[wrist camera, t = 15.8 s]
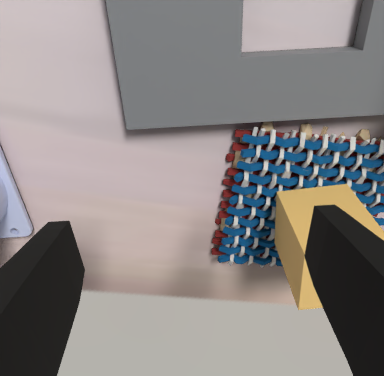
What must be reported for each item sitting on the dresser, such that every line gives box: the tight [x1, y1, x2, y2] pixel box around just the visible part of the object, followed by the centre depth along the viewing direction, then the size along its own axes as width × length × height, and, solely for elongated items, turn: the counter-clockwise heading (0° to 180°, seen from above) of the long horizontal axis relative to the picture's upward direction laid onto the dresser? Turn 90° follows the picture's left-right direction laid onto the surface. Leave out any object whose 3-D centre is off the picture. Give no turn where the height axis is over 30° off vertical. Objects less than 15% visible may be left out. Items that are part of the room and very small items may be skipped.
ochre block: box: [275, 184, 384, 310], centre depth 18 cm, size 4×4×5 cm
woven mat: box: [211, 121, 384, 267], centre depth 21 cm, size 10×11×2 cm
